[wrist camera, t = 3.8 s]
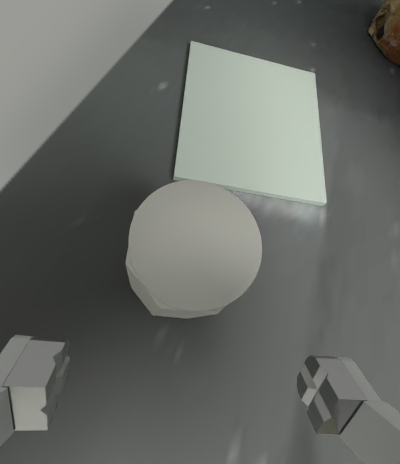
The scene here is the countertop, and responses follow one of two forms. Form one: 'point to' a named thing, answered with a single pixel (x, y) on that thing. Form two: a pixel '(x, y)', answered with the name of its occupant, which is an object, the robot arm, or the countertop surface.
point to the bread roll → (387, 30)
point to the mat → (250, 127)
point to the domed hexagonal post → (192, 249)
